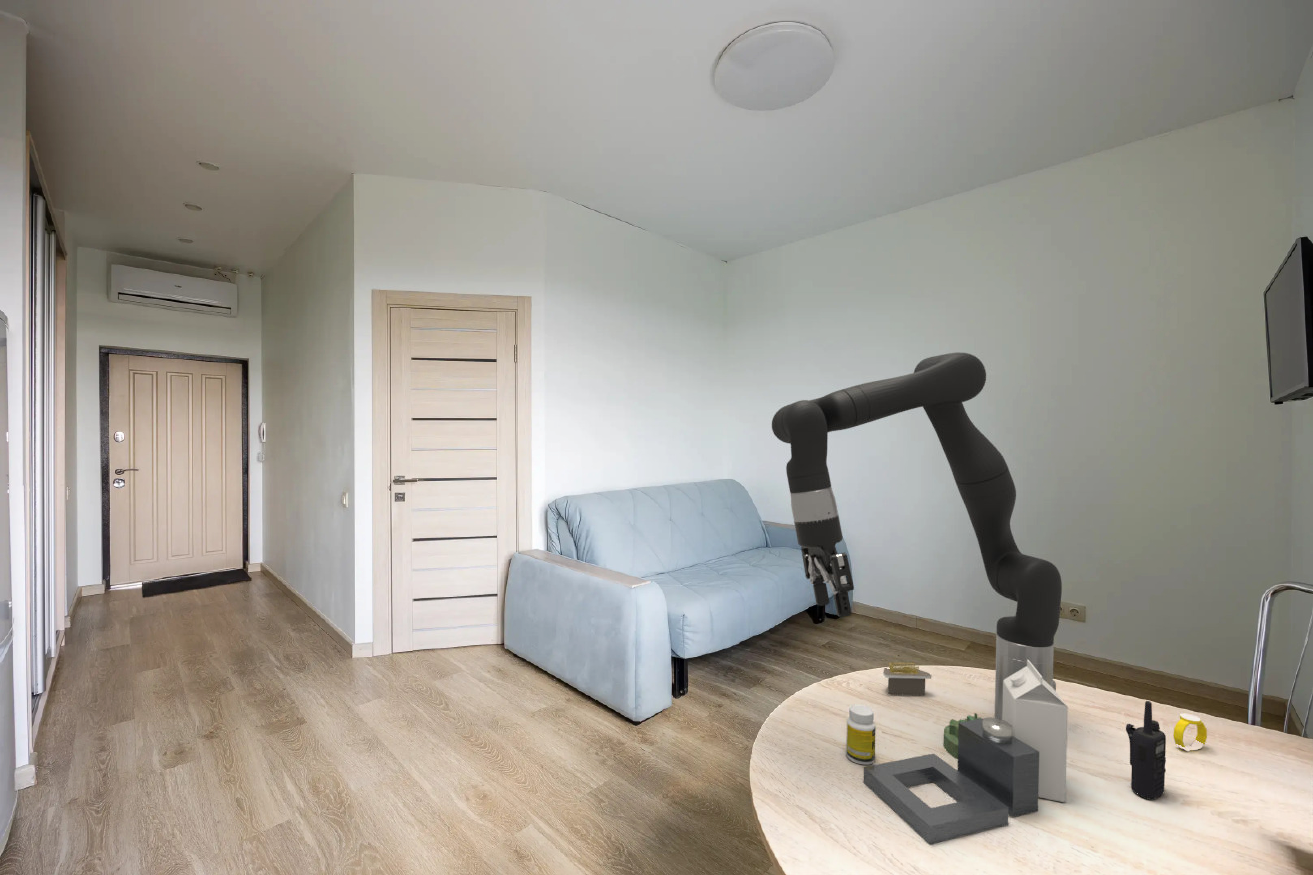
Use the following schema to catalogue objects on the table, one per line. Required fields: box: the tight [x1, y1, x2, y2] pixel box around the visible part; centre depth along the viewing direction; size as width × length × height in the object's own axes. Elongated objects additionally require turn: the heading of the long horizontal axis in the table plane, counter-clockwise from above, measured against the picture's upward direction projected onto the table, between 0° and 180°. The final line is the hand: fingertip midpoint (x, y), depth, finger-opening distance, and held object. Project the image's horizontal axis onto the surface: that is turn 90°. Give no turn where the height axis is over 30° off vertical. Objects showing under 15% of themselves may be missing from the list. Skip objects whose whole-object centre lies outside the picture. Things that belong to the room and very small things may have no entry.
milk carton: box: [1002, 660, 1069, 803], centre depth 90 cm, size 7×7×19 cm
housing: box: [863, 716, 1039, 845], centre depth 86 cm, size 21×14×11 cm, turn 107°
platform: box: [883, 662, 932, 696], centre depth 121 cm, size 12×18×7 cm, turn 90°
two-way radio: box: [1125, 700, 1167, 800], centre depth 89 cm, size 6×4×15 cm
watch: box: [1172, 712, 1208, 747], centre depth 101 cm, size 6×3×6 cm, turn 102°
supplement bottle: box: [845, 703, 877, 766], centre depth 96 cm, size 5×5×8 cm
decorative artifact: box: [942, 712, 983, 760], centre depth 99 cm, size 10×7×10 cm
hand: (833, 610), depth 95 cm, fingers open, 8 cm apart
